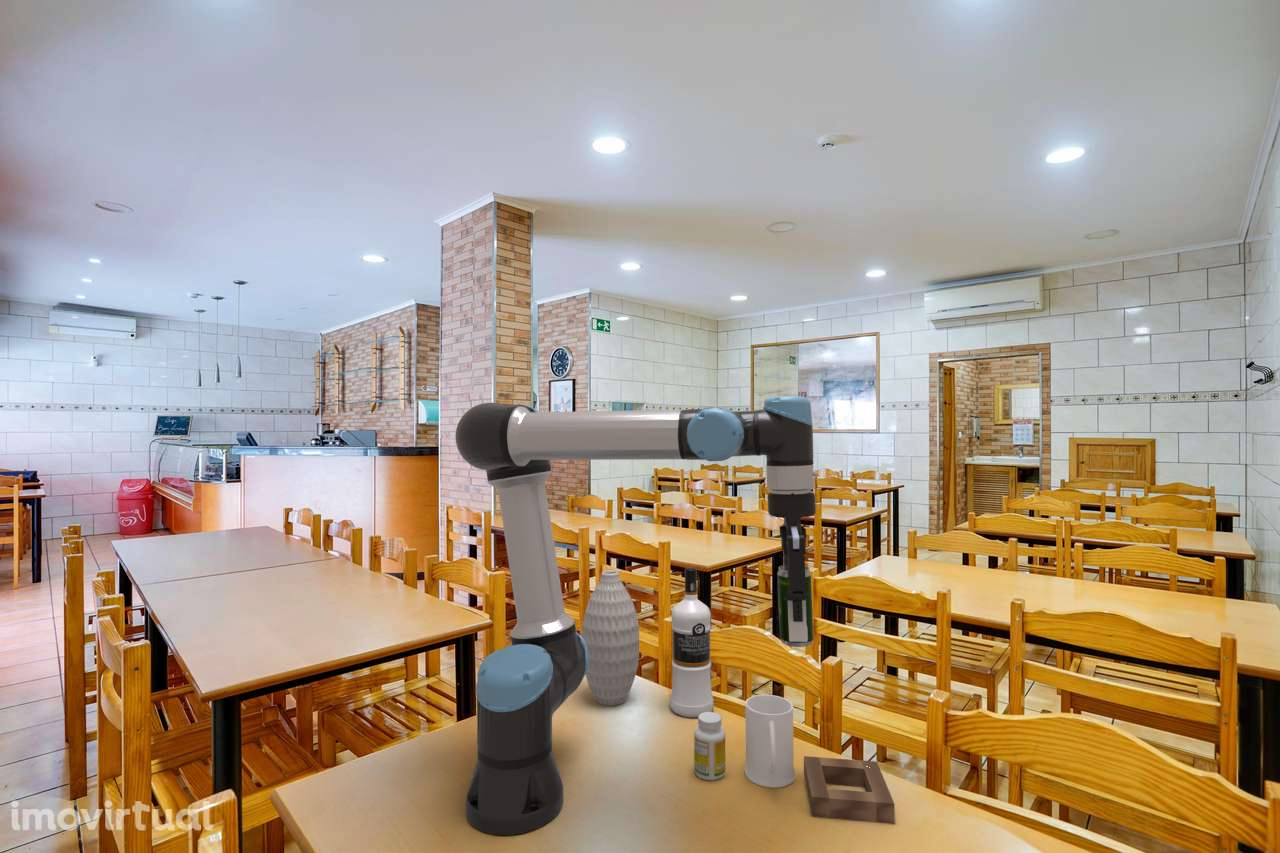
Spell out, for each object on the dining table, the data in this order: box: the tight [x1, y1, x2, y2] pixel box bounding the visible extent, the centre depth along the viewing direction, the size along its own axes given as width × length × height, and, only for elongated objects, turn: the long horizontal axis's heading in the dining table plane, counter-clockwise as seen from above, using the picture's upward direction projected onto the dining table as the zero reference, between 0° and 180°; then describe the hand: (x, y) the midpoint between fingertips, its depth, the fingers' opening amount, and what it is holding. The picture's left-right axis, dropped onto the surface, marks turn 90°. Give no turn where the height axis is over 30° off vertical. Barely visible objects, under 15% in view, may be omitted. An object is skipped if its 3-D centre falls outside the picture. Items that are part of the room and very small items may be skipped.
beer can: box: [776, 564, 814, 648], centre depth 100 cm, size 5×5×12 cm
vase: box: [581, 569, 640, 707], centre depth 136 cm, size 13×13×28 cm
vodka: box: [669, 567, 715, 718], centre depth 131 cm, size 9×9×30 cm
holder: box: [803, 755, 896, 825], centre depth 99 cm, size 12×12×3 cm
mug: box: [744, 694, 796, 789], centre depth 104 cm, size 12×8×12 cm
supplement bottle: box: [693, 711, 726, 781], centre depth 106 cm, size 5×5×10 cm
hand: (796, 634), depth 100 cm, fingers closed on beer can, 5 cm apart
